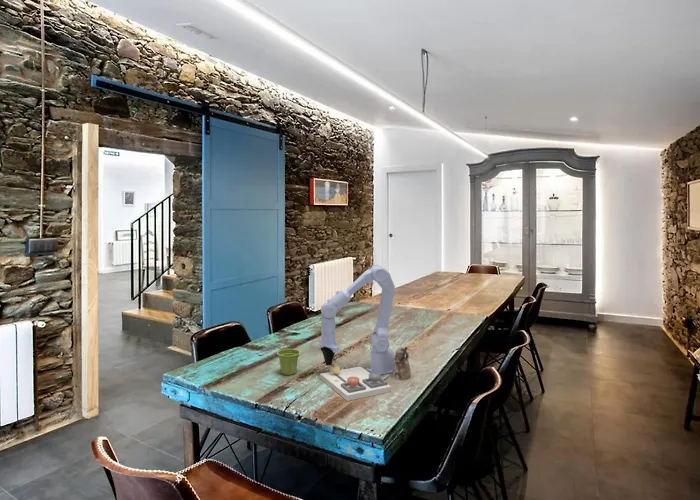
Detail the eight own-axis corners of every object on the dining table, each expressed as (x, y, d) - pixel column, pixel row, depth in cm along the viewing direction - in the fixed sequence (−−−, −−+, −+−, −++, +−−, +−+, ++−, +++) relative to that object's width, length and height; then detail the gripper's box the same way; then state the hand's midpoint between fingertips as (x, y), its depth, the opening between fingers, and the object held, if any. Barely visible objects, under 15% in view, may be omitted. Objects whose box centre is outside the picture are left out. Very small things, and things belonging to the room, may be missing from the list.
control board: (360, 371, 181) (360, 364, 180) (390, 391, 159) (390, 383, 159) (320, 378, 173) (320, 371, 172) (347, 401, 151) (347, 392, 151)
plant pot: (301, 368, 184) (300, 348, 183) (299, 376, 175) (299, 355, 174) (279, 368, 184) (278, 348, 183) (275, 377, 174) (275, 355, 174)
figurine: (389, 374, 177) (389, 345, 176) (405, 372, 179) (405, 344, 178) (397, 380, 170) (397, 350, 169) (413, 378, 172) (414, 348, 171)
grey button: (376, 376, 165) (376, 371, 164) (382, 380, 161) (382, 375, 161) (366, 378, 163) (366, 373, 162) (372, 382, 159) (372, 377, 159)
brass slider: (336, 371, 174) (336, 358, 174) (339, 373, 171) (339, 361, 171) (329, 372, 173) (329, 360, 172) (332, 374, 170) (332, 362, 170)
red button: (355, 380, 161) (355, 375, 160) (361, 384, 157) (361, 379, 156) (345, 382, 159) (345, 377, 158) (350, 386, 155) (350, 381, 155)
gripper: (312, 329, 181) (312, 361, 182) (326, 337, 168) (326, 372, 169) (328, 327, 184) (328, 358, 185) (342, 335, 171) (343, 369, 172)
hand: (328, 364), depth 177 cm, fingers closed
